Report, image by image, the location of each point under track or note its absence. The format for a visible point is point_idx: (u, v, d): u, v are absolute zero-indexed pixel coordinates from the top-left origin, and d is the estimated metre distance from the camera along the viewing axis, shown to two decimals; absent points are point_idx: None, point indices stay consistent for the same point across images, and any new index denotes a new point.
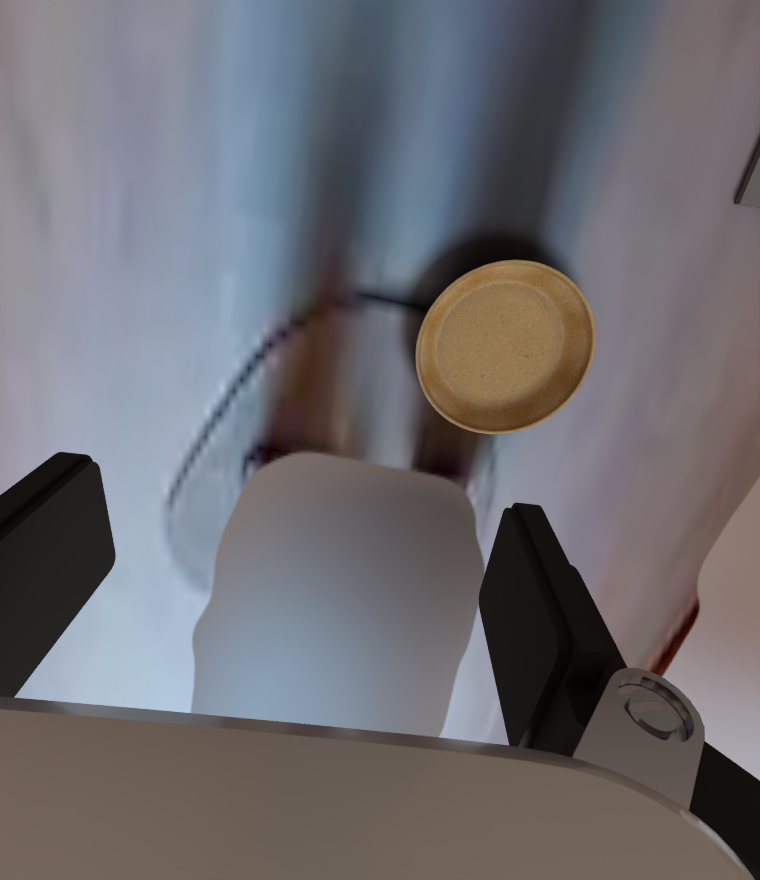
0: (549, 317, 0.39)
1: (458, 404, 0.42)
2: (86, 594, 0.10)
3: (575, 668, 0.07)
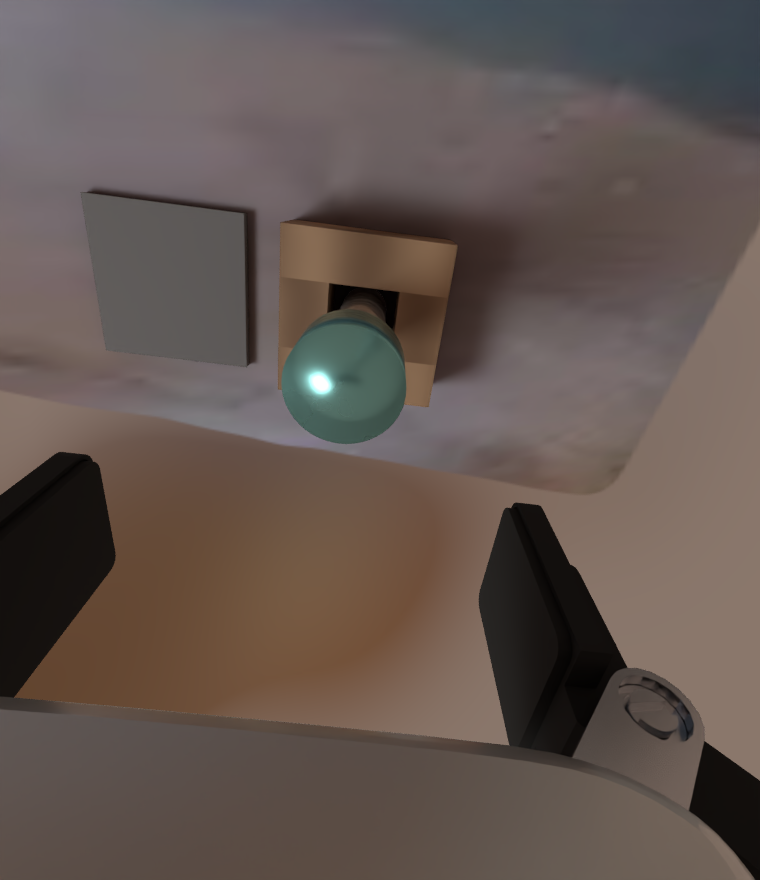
0: None
1: None
2: (86, 594, 0.10)
3: (575, 668, 0.07)
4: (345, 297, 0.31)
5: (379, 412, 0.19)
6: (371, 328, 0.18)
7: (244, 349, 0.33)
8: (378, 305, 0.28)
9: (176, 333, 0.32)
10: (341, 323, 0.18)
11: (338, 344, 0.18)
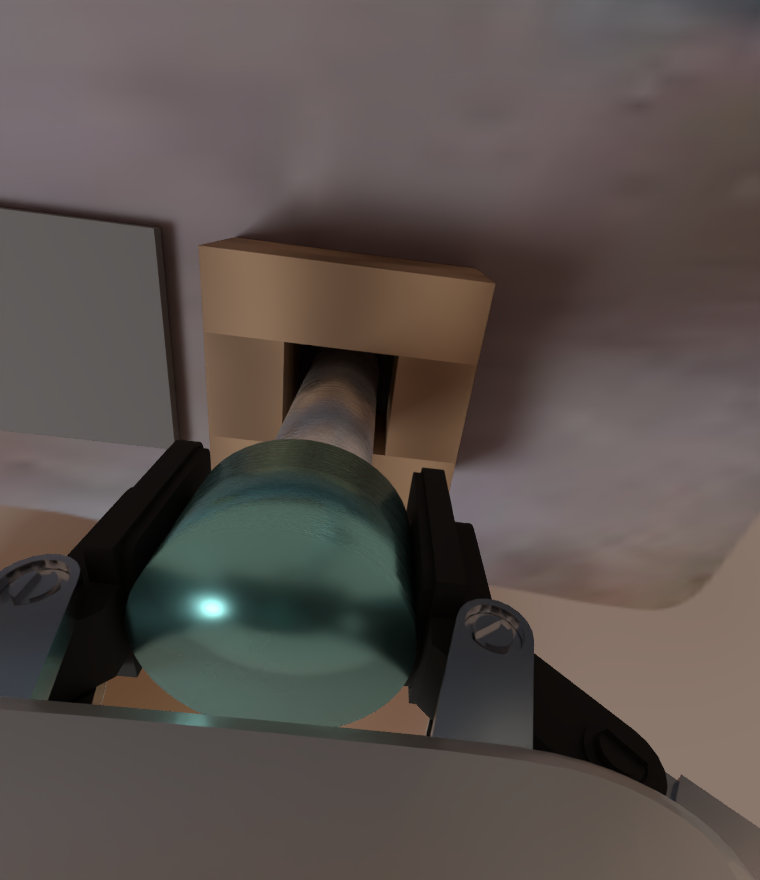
0: None
1: None
2: None
3: (437, 600, 0.08)
4: (317, 352, 0.21)
5: (355, 685, 0.08)
6: (334, 517, 0.08)
7: (170, 425, 0.22)
8: (364, 376, 0.17)
9: (67, 403, 0.22)
10: (259, 513, 0.07)
11: (251, 566, 0.07)
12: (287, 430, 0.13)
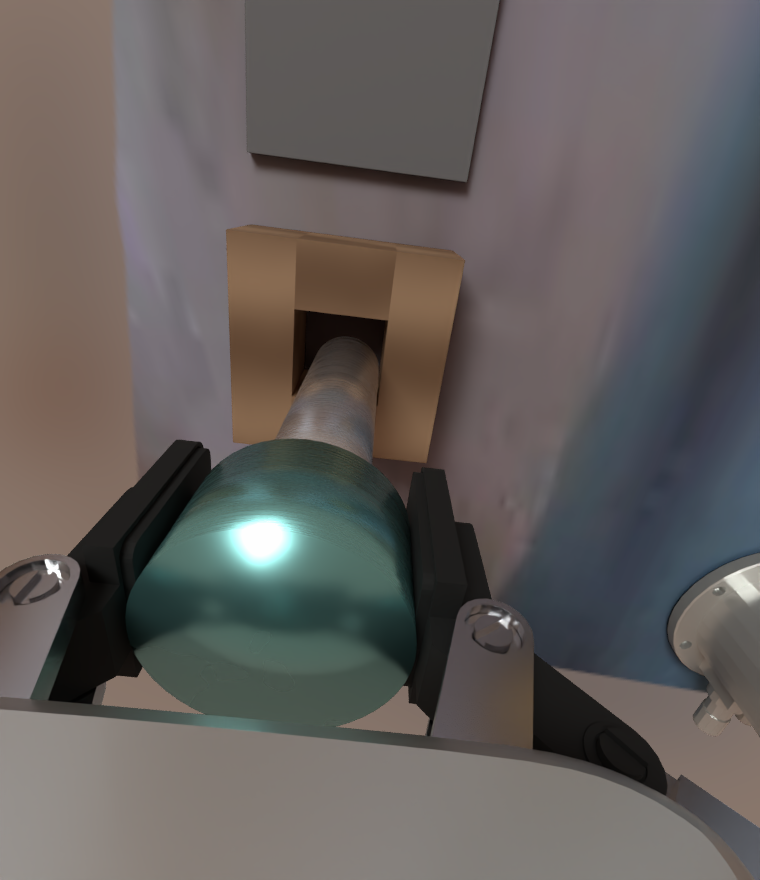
0: None
1: None
2: None
3: (437, 600, 0.08)
4: (317, 352, 0.21)
5: (355, 684, 0.08)
6: (334, 516, 0.08)
7: (275, 152, 0.21)
8: (364, 376, 0.17)
9: (291, 16, 0.19)
10: (259, 513, 0.07)
11: (252, 565, 0.07)
12: (287, 430, 0.13)
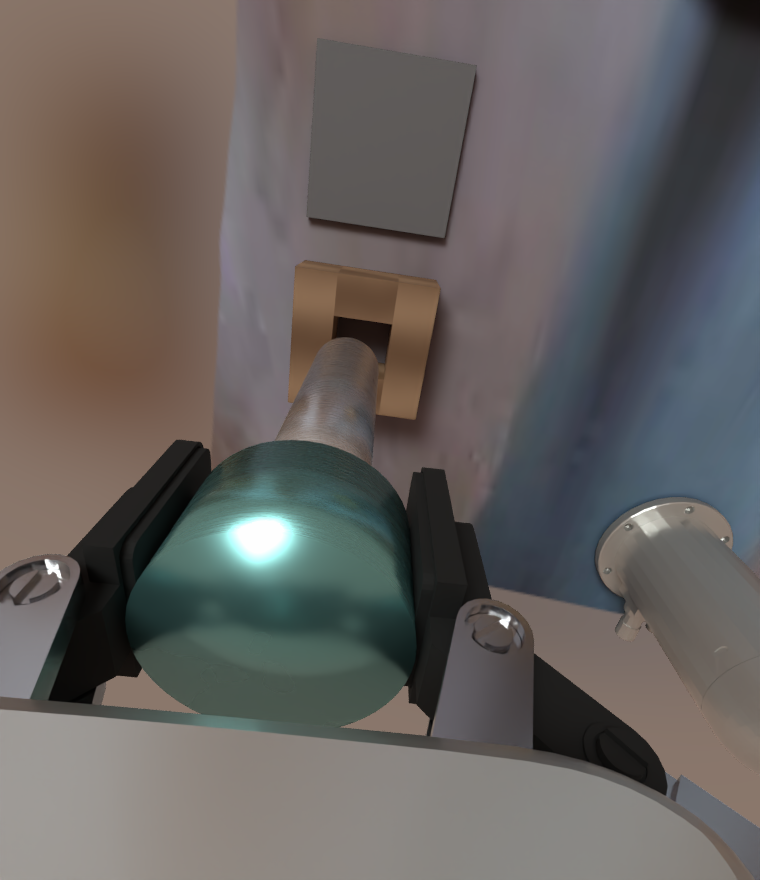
0: None
1: None
2: None
3: (437, 600, 0.08)
4: None
5: (355, 686, 0.08)
6: (334, 518, 0.08)
7: (324, 217, 0.33)
8: (364, 377, 0.17)
9: (339, 141, 0.31)
10: (259, 515, 0.07)
11: (252, 567, 0.07)
12: (287, 431, 0.13)
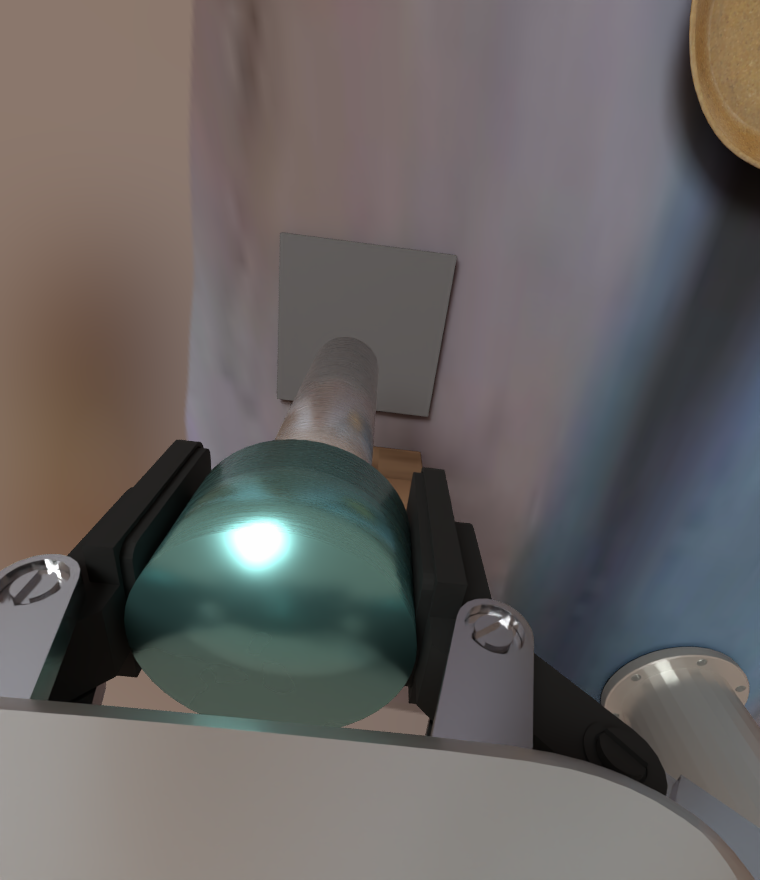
0: (727, 66, 0.22)
1: None
2: None
3: (437, 600, 0.08)
4: (317, 352, 0.21)
5: (355, 686, 0.08)
6: (333, 518, 0.08)
7: None
8: (364, 376, 0.17)
9: (308, 328, 0.28)
10: (258, 514, 0.07)
11: (251, 567, 0.07)
12: (287, 430, 0.13)
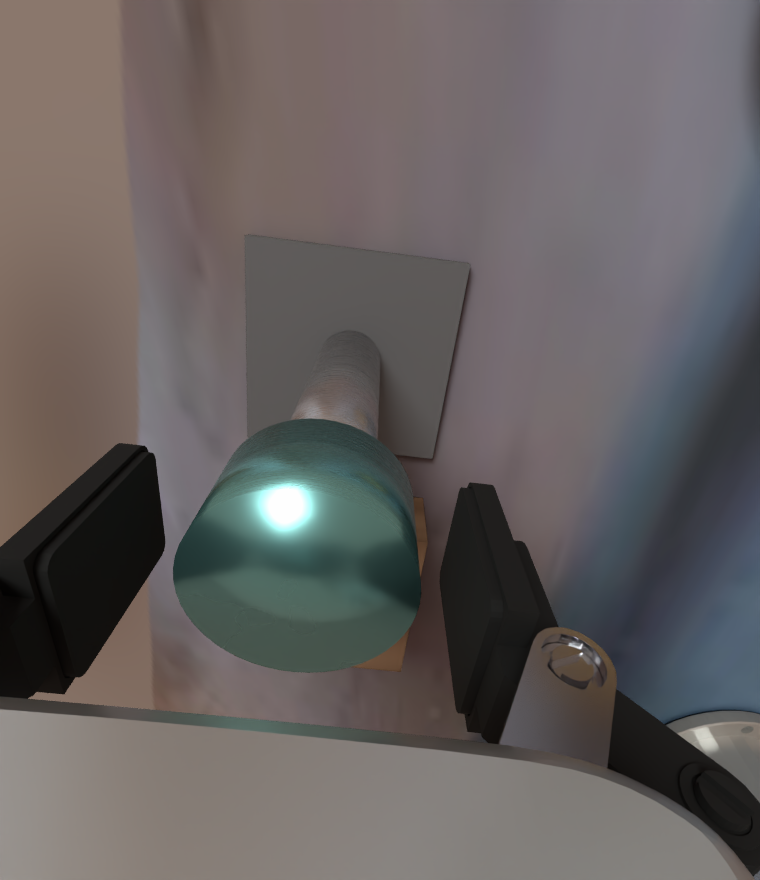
0: None
1: None
2: (142, 578, 0.11)
3: (506, 628, 0.07)
4: None
5: (368, 627, 0.10)
6: (351, 481, 0.09)
7: None
8: (368, 367, 0.19)
9: (284, 354, 0.23)
10: (288, 477, 0.09)
11: (283, 520, 0.09)
12: (301, 414, 0.14)
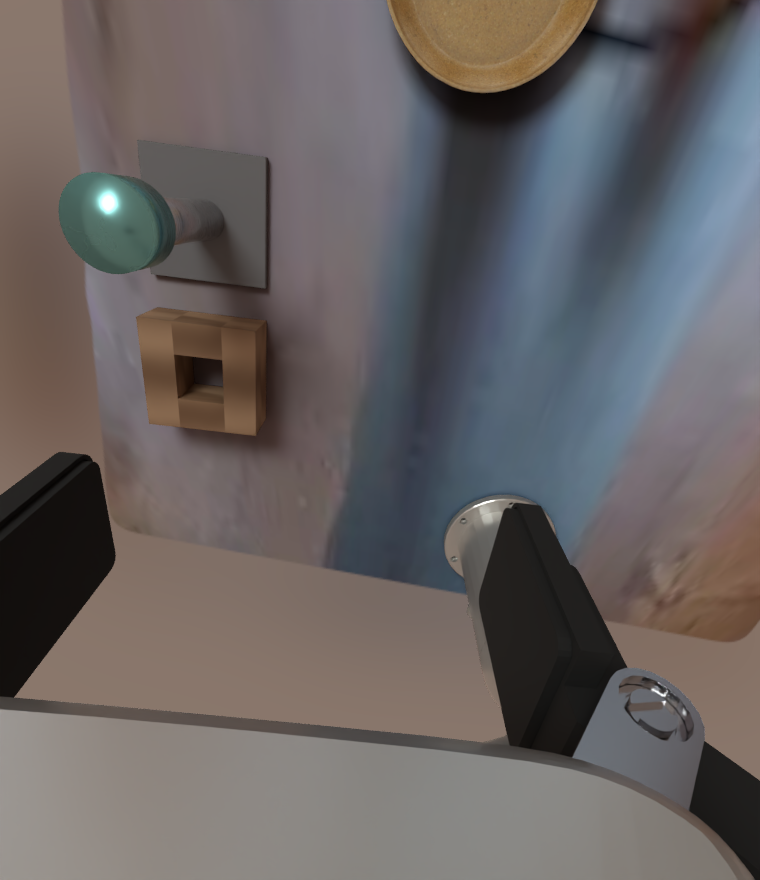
0: (429, 15, 0.33)
1: None
2: (86, 594, 0.10)
3: (575, 668, 0.07)
4: None
5: (136, 245, 0.26)
6: (122, 178, 0.25)
7: (165, 274, 0.41)
8: (198, 205, 0.34)
9: None
10: None
11: (94, 187, 0.24)
12: None
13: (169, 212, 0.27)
